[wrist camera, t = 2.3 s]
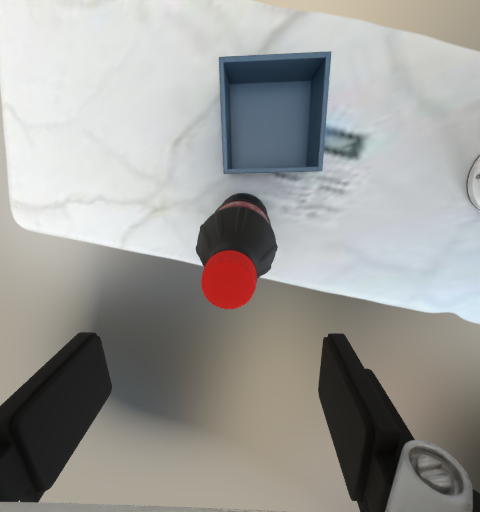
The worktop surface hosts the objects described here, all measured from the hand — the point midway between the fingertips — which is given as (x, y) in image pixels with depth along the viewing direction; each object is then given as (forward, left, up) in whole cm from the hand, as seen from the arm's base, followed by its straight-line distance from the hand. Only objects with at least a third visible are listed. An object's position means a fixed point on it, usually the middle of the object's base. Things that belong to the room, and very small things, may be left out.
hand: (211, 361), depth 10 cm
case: (-5, -14, -37) cm, 40 cm away
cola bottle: (0, 0, -37) cm, 37 cm away
